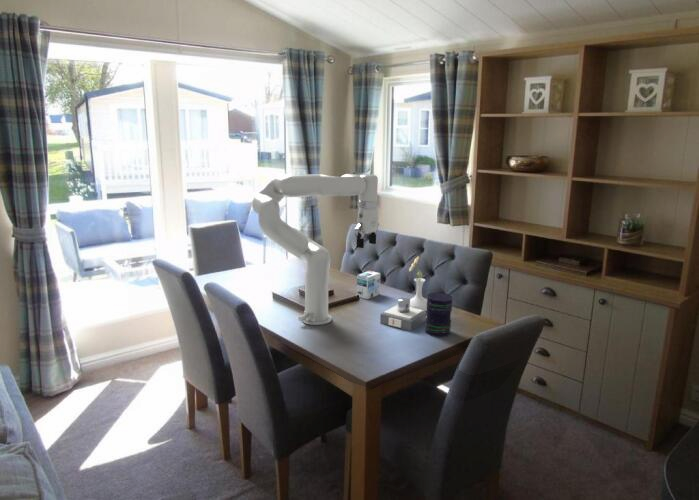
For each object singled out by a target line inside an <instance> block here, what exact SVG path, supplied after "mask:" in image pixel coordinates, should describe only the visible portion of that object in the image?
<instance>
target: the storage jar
mask: <svg viewBox="0 0 699 500" xmlns="http://www.w3.org/2000/svg"><path fill="white" fill-rule="evenodd" d="M426 300H427V311H426V321H425V322H424V323H425V330H424V331H425V334H427V335H428V336H431V337H434V338H435V337H437V338H444V337H448V336H449V335H450V333H451V326H452V325H451V324H452V320H451V316H452V310H453V296H452V295H451V294H449V293H444V292H430V293H428V294H427V299H426Z"/></svg>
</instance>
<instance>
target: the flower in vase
mask: <svg viewBox="0 0 699 500" xmlns="http://www.w3.org/2000/svg"><path fill="white" fill-rule="evenodd" d="M419 260H420V256H417V257H416V258H414V260H413V263H411V266H410V267H409V268H408V272H412V271H413V270H414V268H415V267H416V269H417V272H416V275H417V277H416V278H414V279H413V280H414V282H415V285H416V292H415V293H416V294H415V296H413V297H412V298H409V299H410V307H412V308H416V309H421V310H423V311H425V312H427V299H425V298H424V297H423V294H422V293H423V292H422V291H423V290H422V289H423V286H424V285H423V284H424V283H425V282H426V279H425V278H422V277H423V272H422V271H421V270H420V269H419V267H418V262H419Z"/></svg>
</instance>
